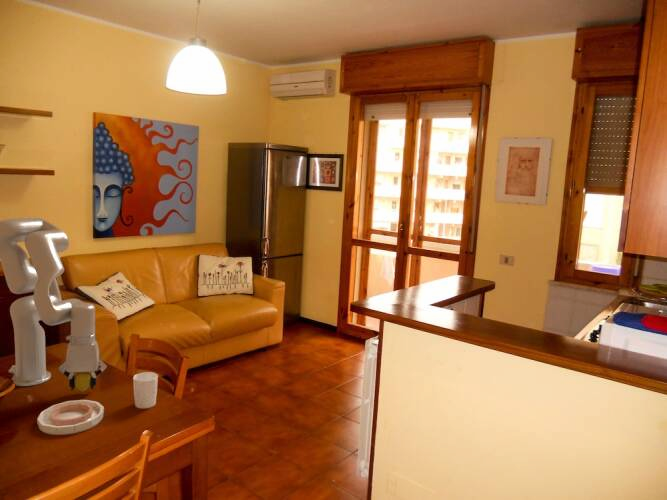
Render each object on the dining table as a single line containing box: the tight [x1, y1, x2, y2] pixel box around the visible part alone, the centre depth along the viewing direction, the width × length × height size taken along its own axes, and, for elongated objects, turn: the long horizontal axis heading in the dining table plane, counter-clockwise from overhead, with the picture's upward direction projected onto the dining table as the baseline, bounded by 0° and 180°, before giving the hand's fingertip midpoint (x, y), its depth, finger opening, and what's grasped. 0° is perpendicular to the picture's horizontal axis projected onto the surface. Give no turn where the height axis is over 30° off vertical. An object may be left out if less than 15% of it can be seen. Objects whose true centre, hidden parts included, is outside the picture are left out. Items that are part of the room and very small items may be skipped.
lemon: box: [74, 372, 92, 393], centre depth 174 cm, size 6×6×8 cm
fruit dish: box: [36, 399, 105, 436], centre depth 156 cm, size 18×18×3 cm
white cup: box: [132, 371, 159, 409], centre depth 169 cm, size 8×8×10 cm
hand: (83, 387), depth 174 cm, fingers closed on lemon, 5 cm apart
